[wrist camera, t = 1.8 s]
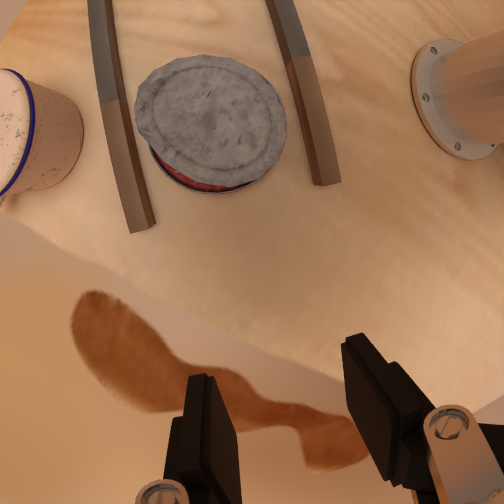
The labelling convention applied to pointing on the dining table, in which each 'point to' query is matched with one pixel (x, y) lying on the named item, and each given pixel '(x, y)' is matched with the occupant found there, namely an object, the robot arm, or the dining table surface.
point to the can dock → (120, 122)
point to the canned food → (211, 123)
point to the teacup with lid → (35, 135)
